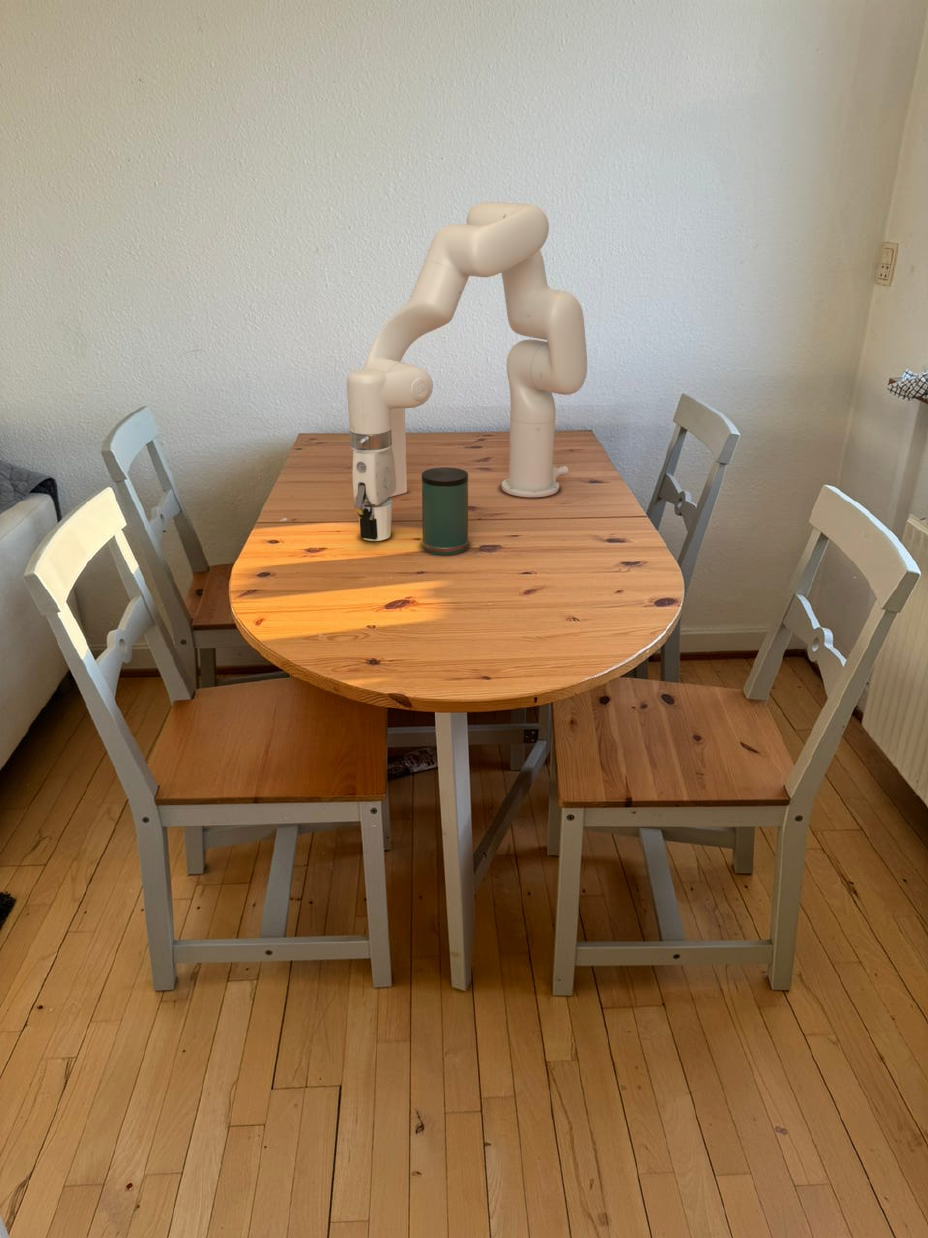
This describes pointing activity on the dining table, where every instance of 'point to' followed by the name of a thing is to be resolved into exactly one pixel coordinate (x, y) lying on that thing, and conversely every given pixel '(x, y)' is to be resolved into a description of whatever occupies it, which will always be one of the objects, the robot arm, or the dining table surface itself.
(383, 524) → the shot glass
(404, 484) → the milk
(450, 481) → the green can
